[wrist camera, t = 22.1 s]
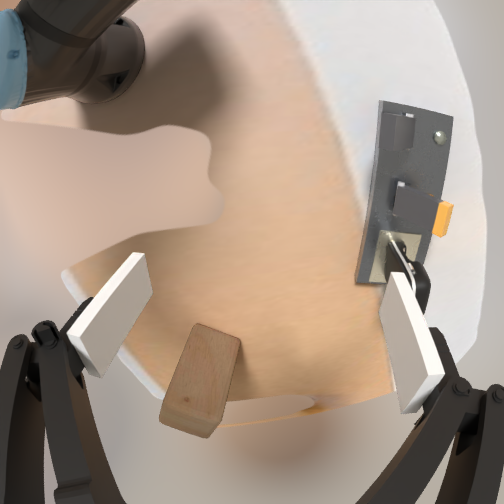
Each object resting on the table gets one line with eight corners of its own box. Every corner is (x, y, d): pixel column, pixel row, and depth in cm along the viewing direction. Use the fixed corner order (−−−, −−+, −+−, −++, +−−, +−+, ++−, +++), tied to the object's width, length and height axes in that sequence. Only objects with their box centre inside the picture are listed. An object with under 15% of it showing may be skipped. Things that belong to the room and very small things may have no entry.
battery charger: (405, 276, 43) (426, 324, 34) (383, 278, 44) (400, 327, 34) (409, 238, 40) (436, 282, 30) (387, 239, 41) (409, 284, 31)
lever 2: (389, 214, 38) (439, 240, 32) (395, 181, 35) (449, 204, 29) (396, 212, 39) (445, 236, 32) (401, 180, 36) (454, 202, 30)
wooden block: (195, 320, 58) (162, 402, 41) (242, 337, 58) (221, 423, 41) (186, 348, 63) (156, 423, 46) (228, 364, 63) (208, 441, 46)
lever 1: (401, 147, 34) (377, 151, 29) (404, 112, 32) (381, 108, 26) (413, 150, 33) (392, 154, 28) (417, 115, 30) (396, 111, 25)
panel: (354, 275, 47) (356, 283, 45) (379, 100, 33) (383, 100, 31) (412, 278, 46) (416, 287, 44) (447, 115, 32) (454, 117, 30)
